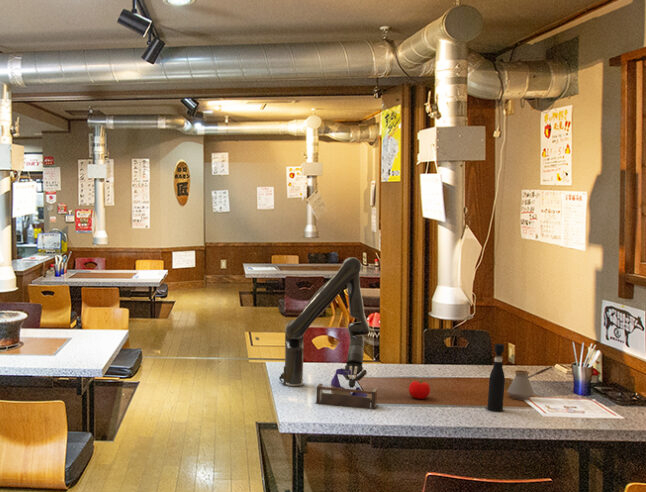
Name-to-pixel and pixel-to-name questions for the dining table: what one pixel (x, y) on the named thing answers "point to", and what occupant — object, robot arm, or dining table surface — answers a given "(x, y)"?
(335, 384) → the sandal
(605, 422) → the dining table surface
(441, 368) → the dining table surface
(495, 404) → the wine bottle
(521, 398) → the coffee pot
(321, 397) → the shoe rack
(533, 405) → the dining table surface
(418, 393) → the tomato
